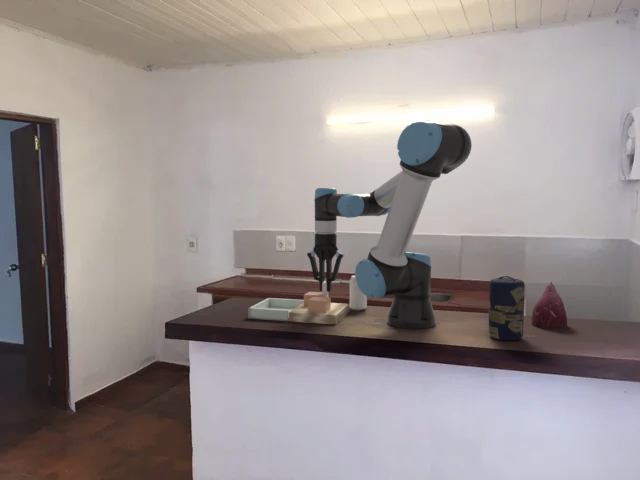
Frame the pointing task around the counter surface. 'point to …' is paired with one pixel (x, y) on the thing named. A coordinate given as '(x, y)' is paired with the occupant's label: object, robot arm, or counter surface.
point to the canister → (506, 308)
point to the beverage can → (356, 296)
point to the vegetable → (549, 310)
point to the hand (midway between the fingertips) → (325, 300)
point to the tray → (273, 309)
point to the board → (319, 314)
